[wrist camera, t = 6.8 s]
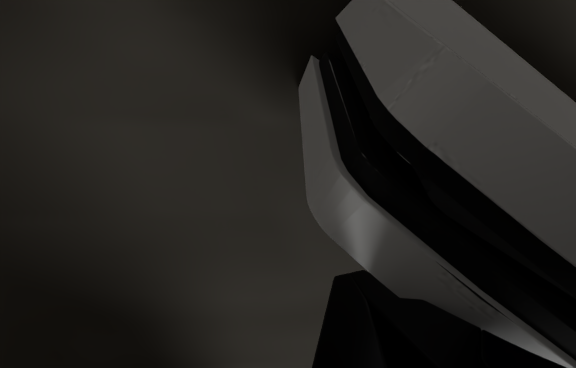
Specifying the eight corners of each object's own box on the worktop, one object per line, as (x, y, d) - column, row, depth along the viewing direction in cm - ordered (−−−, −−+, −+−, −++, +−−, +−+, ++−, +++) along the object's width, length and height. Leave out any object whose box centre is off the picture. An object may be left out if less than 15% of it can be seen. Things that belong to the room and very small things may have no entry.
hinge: (691, 204, 14) (1188, 536, 6) (583, 268, 17) (831, 570, 8) (377, -54, 11) (527, -112, 3) (296, 72, 13) (234, 257, 5)
